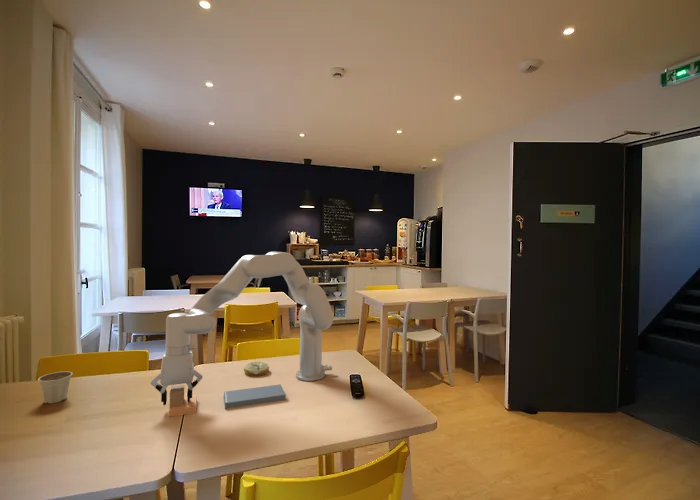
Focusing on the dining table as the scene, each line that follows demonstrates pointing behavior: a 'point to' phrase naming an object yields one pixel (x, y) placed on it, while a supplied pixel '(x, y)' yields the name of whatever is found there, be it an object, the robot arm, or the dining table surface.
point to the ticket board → (253, 396)
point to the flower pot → (55, 386)
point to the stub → (181, 402)
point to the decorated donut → (256, 368)
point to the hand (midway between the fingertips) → (177, 401)
